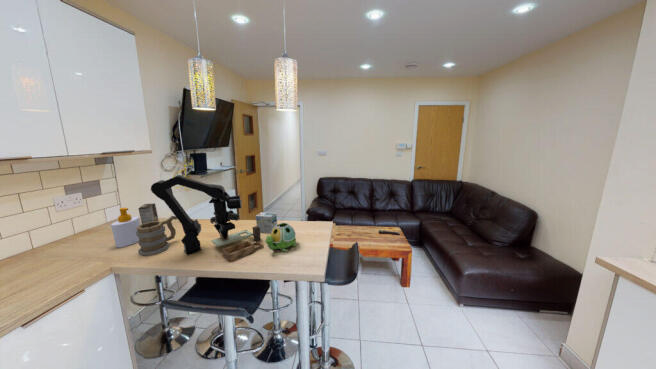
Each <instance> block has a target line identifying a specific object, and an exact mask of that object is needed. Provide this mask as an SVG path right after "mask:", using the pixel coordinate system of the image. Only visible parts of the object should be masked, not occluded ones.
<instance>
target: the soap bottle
mask: <svg viewBox="0 0 656 369" xmlns="http://www.w3.org/2000/svg"><path fill="white" fill-rule="evenodd" d="M127 211H129V208H127V207H120V208H119V212H120V214H119V215H118V218H117V221H114V222H113V223H111V225H110V226H111V230H112V231H111V232H112V235H113V240H114V243H115V247H116V248H124V247H128V246H132V245H133V244H136V243H138V241H139V237H137V235H136V232H137V227H138V226H139V225H141V224H142V223H141V219H140V216H139V217H138V216H132V215H131V214H129V213H128V212H127Z"/></svg>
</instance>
